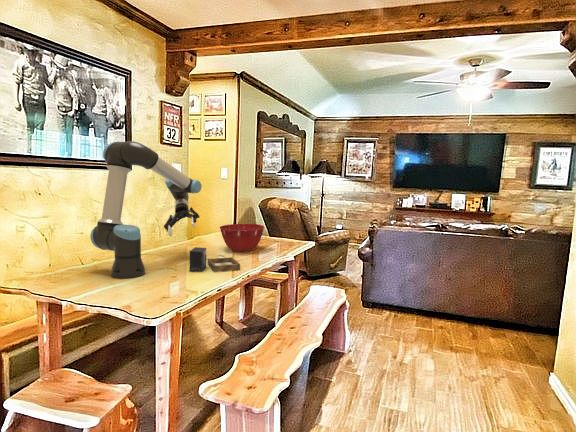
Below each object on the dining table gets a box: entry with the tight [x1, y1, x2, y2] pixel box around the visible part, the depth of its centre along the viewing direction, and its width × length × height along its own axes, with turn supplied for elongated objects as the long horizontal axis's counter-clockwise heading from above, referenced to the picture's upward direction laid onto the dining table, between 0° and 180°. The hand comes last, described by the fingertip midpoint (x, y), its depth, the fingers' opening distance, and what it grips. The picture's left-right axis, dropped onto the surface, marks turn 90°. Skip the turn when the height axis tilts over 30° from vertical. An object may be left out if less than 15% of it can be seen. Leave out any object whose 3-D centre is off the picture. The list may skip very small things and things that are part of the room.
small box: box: [189, 246, 207, 273], centre depth 194 cm, size 11×6×10 cm, turn 179°
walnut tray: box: [207, 256, 241, 273], centre depth 200 cm, size 13×17×3 cm
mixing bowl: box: [219, 223, 265, 253], centre depth 245 cm, size 28×28×16 cm
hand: (181, 230), depth 205 cm, fingers open, 13 cm apart
